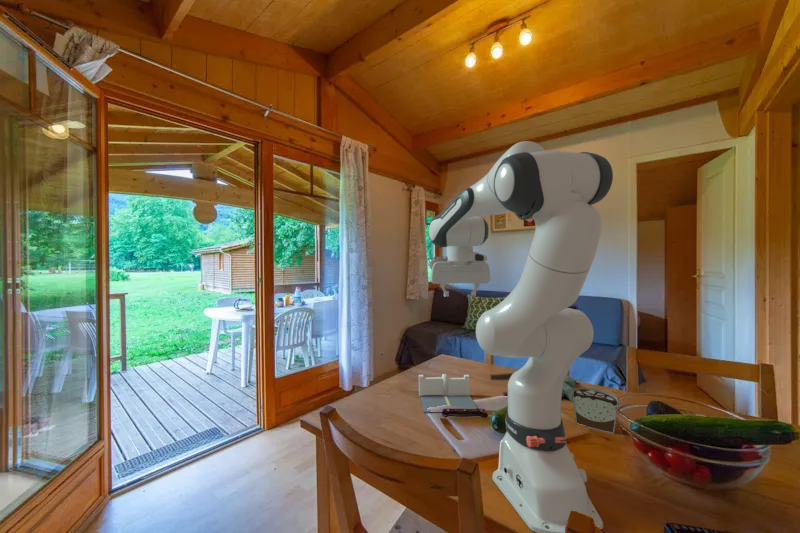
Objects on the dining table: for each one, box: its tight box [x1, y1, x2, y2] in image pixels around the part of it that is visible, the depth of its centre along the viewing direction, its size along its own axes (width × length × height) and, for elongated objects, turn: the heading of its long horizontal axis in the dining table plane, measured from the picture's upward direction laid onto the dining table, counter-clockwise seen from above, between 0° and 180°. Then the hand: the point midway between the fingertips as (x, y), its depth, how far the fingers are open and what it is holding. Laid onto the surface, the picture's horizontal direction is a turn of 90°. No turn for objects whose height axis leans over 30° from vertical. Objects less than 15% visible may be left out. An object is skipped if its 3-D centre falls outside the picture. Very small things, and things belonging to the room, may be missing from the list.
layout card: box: [417, 385, 478, 414], centre depth 113 cm, size 20×18×1 cm
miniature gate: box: [489, 372, 580, 404], centre depth 122 cm, size 27×6×30 cm
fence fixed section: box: [447, 374, 470, 396], centre depth 115 cm, size 8×2×7 cm, turn 92°
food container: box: [571, 386, 621, 435], centre depth 94 cm, size 12×6×10 cm, turn 56°
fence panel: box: [418, 373, 448, 397], centre depth 114 cm, size 10×2×7 cm, turn 92°
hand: (459, 296), depth 108 cm, fingers open, 8 cm apart
